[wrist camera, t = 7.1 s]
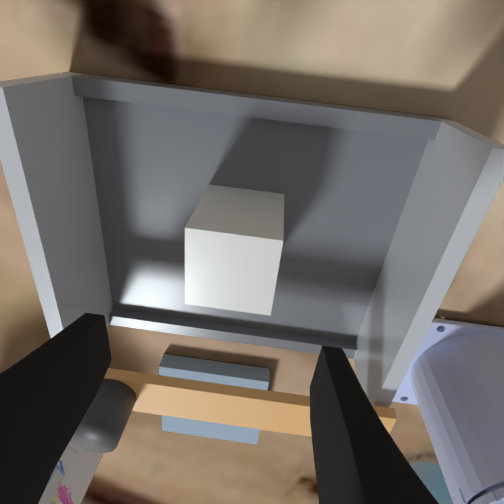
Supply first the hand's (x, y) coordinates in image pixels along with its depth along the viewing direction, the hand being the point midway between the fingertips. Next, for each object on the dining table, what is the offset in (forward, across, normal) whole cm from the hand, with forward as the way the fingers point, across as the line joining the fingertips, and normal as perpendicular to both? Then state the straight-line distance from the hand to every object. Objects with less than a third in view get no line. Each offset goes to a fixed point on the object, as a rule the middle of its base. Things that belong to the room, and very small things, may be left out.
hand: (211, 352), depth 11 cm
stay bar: (+4, 0, +8) cm, 9 cm away
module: (+9, 0, 0) cm, 9 cm away
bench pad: (+10, +1, +16) cm, 19 cm away
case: (+10, 0, +1) cm, 10 cm away
